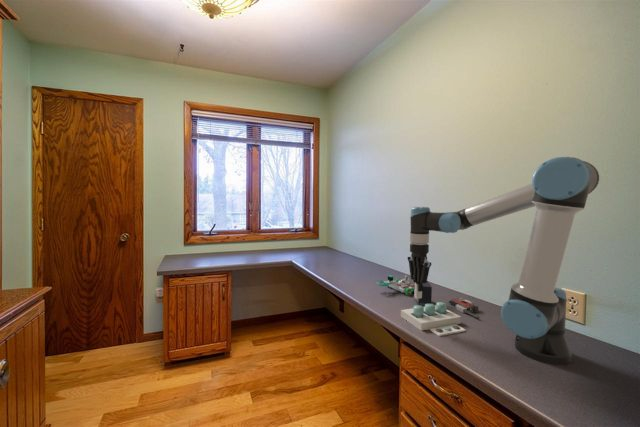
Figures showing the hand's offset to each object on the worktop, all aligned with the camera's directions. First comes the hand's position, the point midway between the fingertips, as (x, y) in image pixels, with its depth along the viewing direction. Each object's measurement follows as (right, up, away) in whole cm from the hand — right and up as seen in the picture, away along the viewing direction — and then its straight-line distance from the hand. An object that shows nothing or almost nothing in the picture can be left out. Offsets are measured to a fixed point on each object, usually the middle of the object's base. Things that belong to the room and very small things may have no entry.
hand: (418, 297), depth 119 cm
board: (+6, -10, +2) cm, 12 cm away
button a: (+12, -8, +4) cm, 14 cm away
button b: (+6, -8, +2) cm, 10 cm away
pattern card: (+9, -11, -8) cm, 16 cm away
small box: (+10, -10, +21) cm, 26 cm away
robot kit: (+2, -9, +41) cm, 42 cm away
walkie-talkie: (+28, -10, +12) cm, 32 cm away
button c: (0, -8, 0) cm, 8 cm away
